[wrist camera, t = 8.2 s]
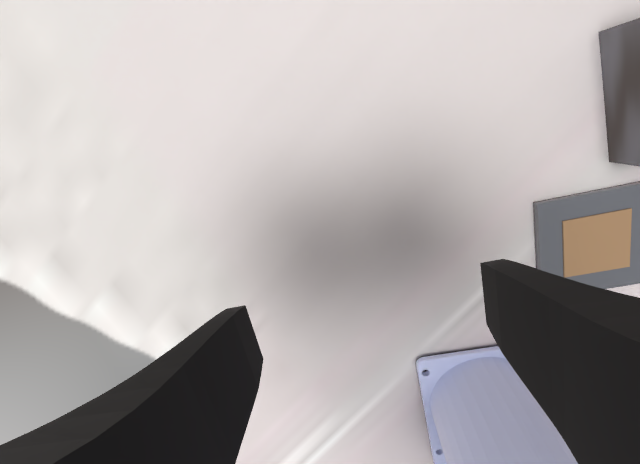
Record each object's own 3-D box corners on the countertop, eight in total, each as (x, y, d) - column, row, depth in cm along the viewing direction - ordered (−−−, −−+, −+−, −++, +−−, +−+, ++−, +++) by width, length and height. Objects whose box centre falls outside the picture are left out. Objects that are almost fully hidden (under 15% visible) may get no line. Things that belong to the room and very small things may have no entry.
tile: (645, 278, 20) (652, 282, 20) (538, 295, 21) (542, 300, 20) (650, 179, 18) (658, 181, 18) (533, 202, 19) (538, 204, 19)
